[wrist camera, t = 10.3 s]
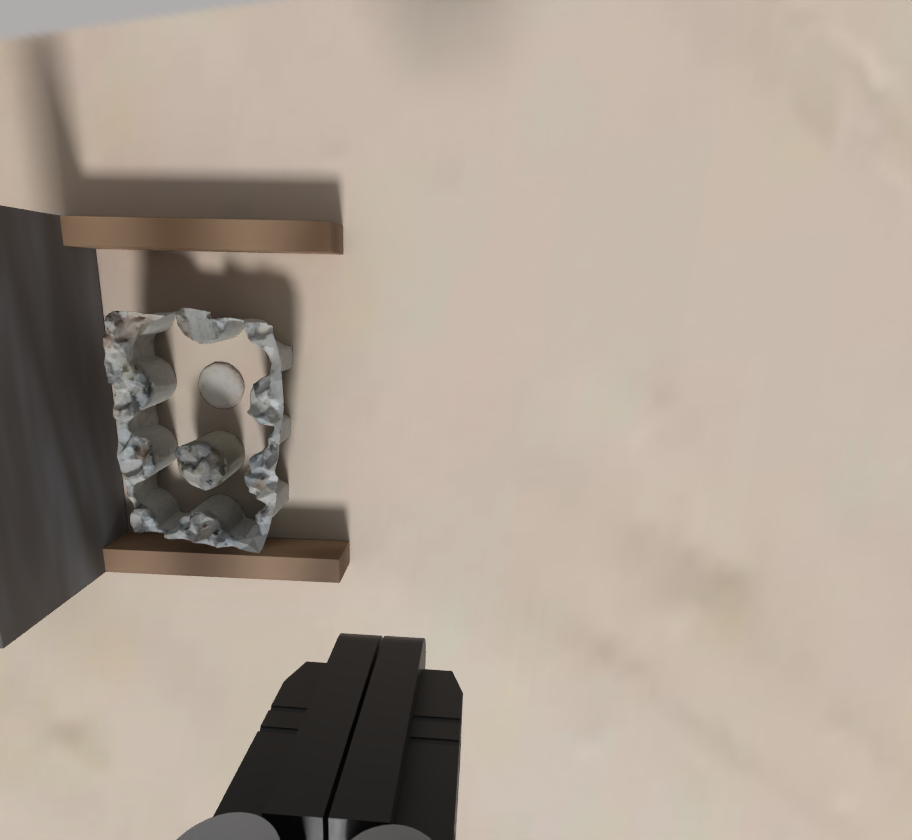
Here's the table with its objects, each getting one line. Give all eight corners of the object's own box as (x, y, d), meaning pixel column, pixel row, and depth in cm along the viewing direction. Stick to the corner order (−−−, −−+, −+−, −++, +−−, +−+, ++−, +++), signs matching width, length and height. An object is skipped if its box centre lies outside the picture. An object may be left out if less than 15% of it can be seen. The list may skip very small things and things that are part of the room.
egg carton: (154, 297, 27) (96, 298, 23) (311, 323, 26) (280, 328, 22) (148, 507, 29) (94, 541, 25) (291, 530, 29) (260, 569, 25)
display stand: (342, 226, 25) (278, 198, 17) (349, 562, 29) (299, 664, 21) (66, 220, 26) (-116, 190, 18) (108, 551, 29) (-28, 647, 22)
